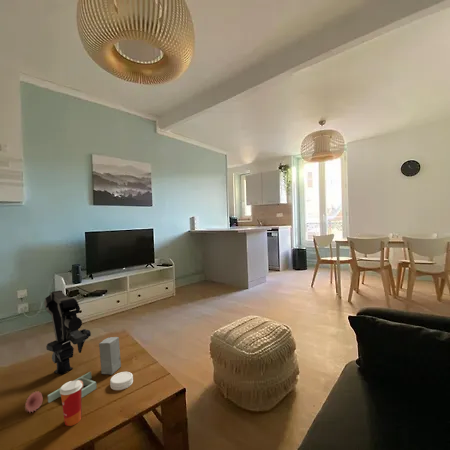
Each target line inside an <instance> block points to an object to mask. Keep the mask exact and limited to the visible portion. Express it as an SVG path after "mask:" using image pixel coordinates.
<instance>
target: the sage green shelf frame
mask: <svg viewBox="0 0 450 450" xmlns="http://www.w3.org/2000/svg"><path fill="white" fill-rule="evenodd" d="M75 380H81V381H82V382H83V384H84V385H83V389H82V393H81V399H82V398H85V396H88V395H89V394H90V393H92V392H93V391H95V390H96V389H97V381H94V380H92V371H89V372H87V373H85V374H83V375H81V376H79V377H78V378H76V379H74V380H73V381H75ZM84 386H85V387H84ZM60 390H61V387H60V388H58V389H57V390H54V391H53V392H51V393H49V394H47V403H51V402H53V401H55V400H56V399H58V398H61V394H60Z"/></svg>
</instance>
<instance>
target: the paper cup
mask: <svg viewBox="0 0 450 450" xmlns="http://www.w3.org/2000/svg"><path fill="white" fill-rule="evenodd" d="M74 380H75V381H74ZM74 380H70V381H67V382H65V383H64V384H63V385H61V387H60V388H61V390H60V394H61V397H60V398H61V406H62V413H63V419H64V420H63V421H64V425H65V426H66V427H72V426H75V425H76V424H78V423H79V422H81V419H82V398H81V393H82V383H81V382H80V381H79V380H77V381H76V379H74Z"/></svg>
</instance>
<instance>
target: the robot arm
mask: <svg viewBox="0 0 450 450" xmlns="http://www.w3.org/2000/svg"><path fill="white" fill-rule="evenodd" d="M63 292H64V291H63V290H55V291H52V292H50V293H49V295H48V296H47V297H45V299H44V303H43V304H44V305H43V306H44V308H45V309H46V312H47V313H48V314H49V315H50V317H51V320H52V325H53V332H54V338H55V340H53V341H50V342H48V343H47V344H46V350H47V351H48V352H52V354H51V360H52V362H53V363H54V364H55V365H56V369H55V370H54V371H53V373H55V374H57V375H60V376H61V375H64V374H66V373H68V372H70V371H72V370H73V368H74V367H72V366H71V363H70V359H71V358H73V357H74V350H75V348H74V347H73V345H77V350H78V351H77V352H78V353H79V354H81V353H82V351H83V347H84V344H85V342H86V340H88V339H89V337H91V336H92V332H91V330H89V329H86V328H83V329H80V328H82V325H83V321H82V319H81V318H80V317H79V316H78V315H77V314H80V312H81V311H80V310H81V308H80V304H79V302H78V301H77V299H76V298H75V297H71V296H69V297H68V296H67V295H66V294H65V293H63ZM79 329H80V330H79ZM71 343H72V344H73V345H72V344H71Z"/></svg>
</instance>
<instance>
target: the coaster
mask: <svg viewBox="0 0 450 450" xmlns="http://www.w3.org/2000/svg"><path fill="white" fill-rule="evenodd" d="M133 383H134V374H133V373H132V372H130V371H121V372H118V373H116V374H115V373H114V375H112V376H111V378H110V380H109V384H110V389H112V390H113V391H122V390H125V389H127V388H130V387H131V386H132V384H133Z"/></svg>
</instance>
